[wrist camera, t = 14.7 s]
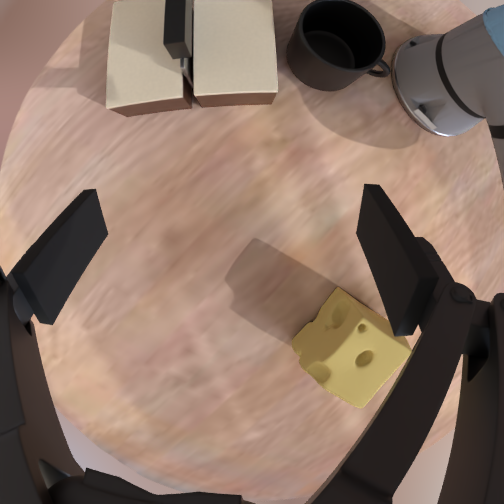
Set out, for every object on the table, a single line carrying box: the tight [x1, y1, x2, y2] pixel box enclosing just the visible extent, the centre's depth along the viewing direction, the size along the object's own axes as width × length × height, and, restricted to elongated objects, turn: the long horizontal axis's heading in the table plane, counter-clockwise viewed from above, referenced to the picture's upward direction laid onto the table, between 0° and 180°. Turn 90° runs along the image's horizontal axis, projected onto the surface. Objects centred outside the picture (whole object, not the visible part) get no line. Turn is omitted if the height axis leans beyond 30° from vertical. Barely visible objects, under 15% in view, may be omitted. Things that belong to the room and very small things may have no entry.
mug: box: [287, 0, 391, 91], centre depth 29 cm, size 9×12×9 cm
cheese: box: [292, 287, 412, 408], centre depth 38 cm, size 10×11×10 cm
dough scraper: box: [163, 0, 194, 89], centre depth 25 cm, size 2×10×12 cm, turn 2°
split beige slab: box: [106, 0, 278, 117], centre depth 29 cm, size 18×14×7 cm
